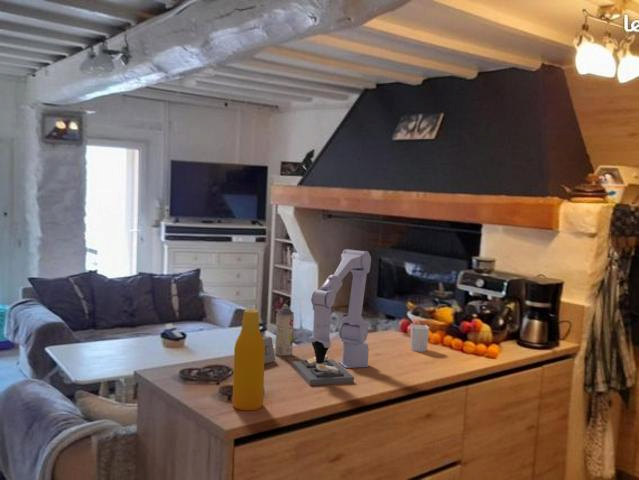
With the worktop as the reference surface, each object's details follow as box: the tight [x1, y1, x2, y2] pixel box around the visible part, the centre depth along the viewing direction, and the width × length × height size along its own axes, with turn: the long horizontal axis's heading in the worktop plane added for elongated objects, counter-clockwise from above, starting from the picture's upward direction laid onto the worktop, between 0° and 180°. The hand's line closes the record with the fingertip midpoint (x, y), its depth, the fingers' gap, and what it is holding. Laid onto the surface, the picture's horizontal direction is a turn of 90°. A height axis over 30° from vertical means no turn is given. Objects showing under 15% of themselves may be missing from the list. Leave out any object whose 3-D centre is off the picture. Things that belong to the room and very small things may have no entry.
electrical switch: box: [262, 336, 276, 365], centre depth 225 cm, size 9×5×9 cm, turn 141°
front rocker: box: [316, 364, 339, 373], centre depth 208 cm, size 7×4×2 cm, turn 108°
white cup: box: [410, 324, 430, 353], centre depth 253 cm, size 8×8×10 cm
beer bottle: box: [231, 309, 265, 411], centre depth 179 cm, size 9×9×29 cm
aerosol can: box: [274, 304, 295, 358], centre depth 236 cm, size 7×7×20 cm
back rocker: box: [306, 354, 329, 365], centre depth 219 cm, size 7×4×2 cm, turn 108°
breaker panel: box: [291, 358, 355, 386], centre depth 214 cm, size 16×22×4 cm
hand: (319, 362), depth 207 cm, fingers closed
